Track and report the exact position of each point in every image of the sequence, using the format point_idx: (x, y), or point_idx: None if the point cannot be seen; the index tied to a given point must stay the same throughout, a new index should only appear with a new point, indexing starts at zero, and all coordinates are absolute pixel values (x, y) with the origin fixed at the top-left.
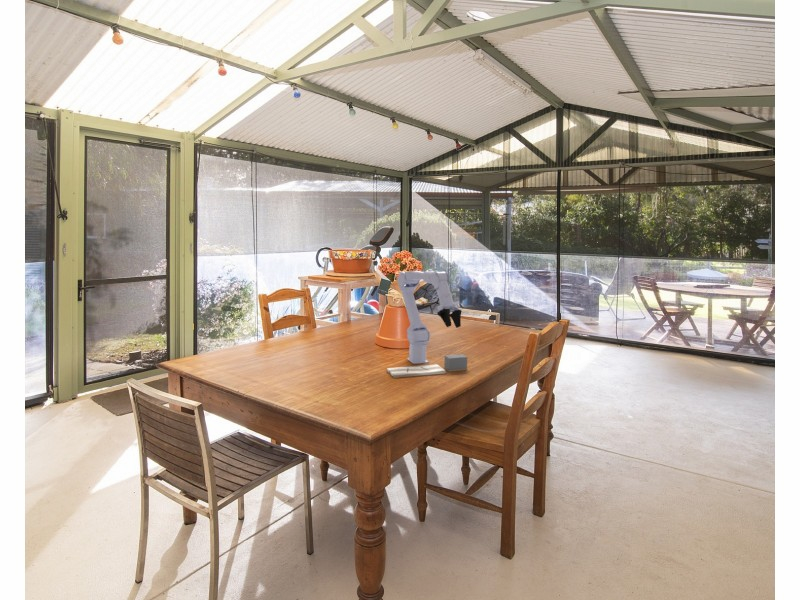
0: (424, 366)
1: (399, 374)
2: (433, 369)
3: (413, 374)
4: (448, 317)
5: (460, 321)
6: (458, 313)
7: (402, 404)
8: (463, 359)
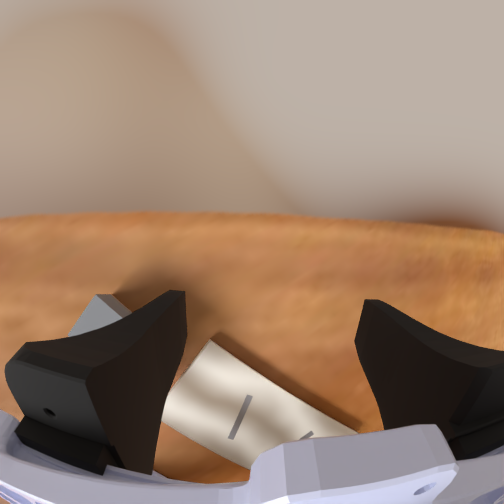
0: (213, 434)
1: (347, 429)
2: (227, 388)
3: (313, 408)
4: (434, 334)
5: (147, 305)
6: (124, 363)
7: (468, 275)
8: (113, 307)
